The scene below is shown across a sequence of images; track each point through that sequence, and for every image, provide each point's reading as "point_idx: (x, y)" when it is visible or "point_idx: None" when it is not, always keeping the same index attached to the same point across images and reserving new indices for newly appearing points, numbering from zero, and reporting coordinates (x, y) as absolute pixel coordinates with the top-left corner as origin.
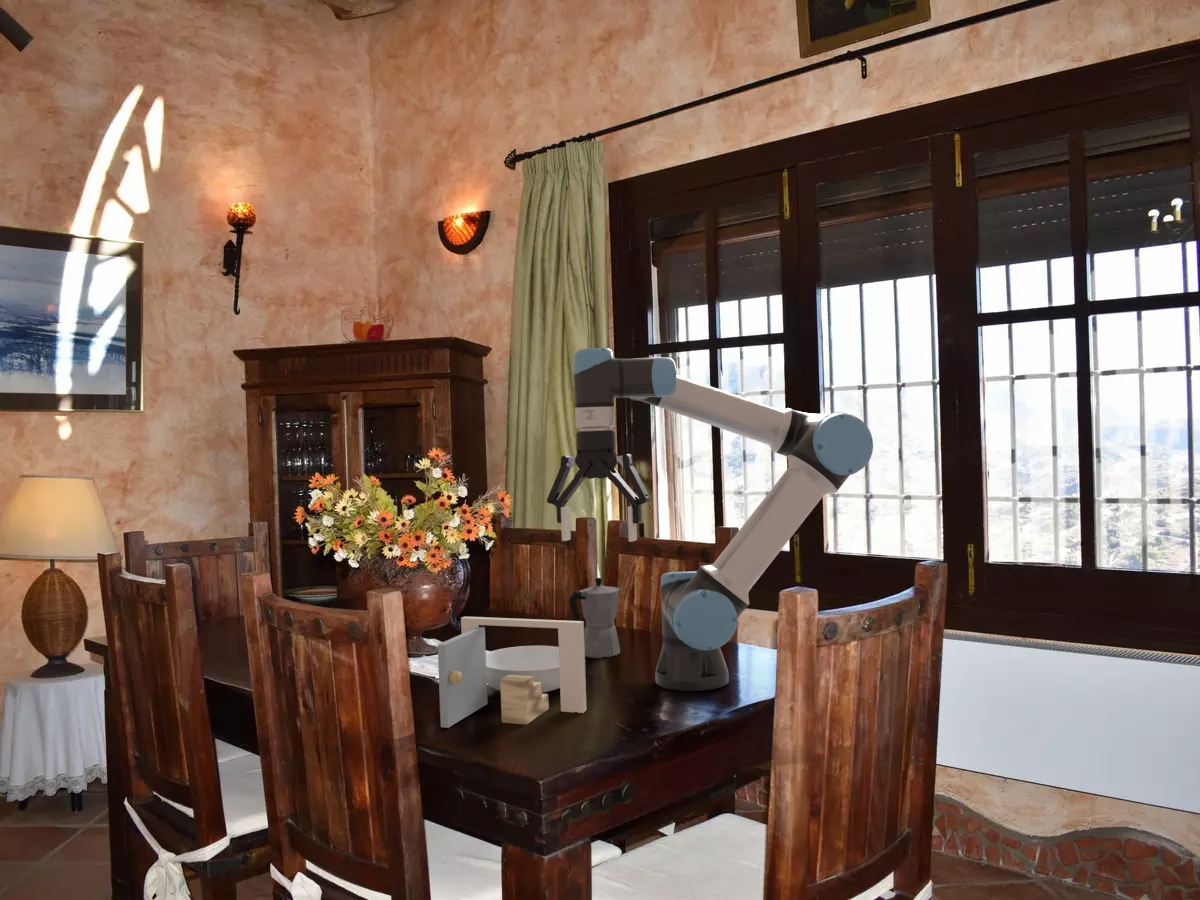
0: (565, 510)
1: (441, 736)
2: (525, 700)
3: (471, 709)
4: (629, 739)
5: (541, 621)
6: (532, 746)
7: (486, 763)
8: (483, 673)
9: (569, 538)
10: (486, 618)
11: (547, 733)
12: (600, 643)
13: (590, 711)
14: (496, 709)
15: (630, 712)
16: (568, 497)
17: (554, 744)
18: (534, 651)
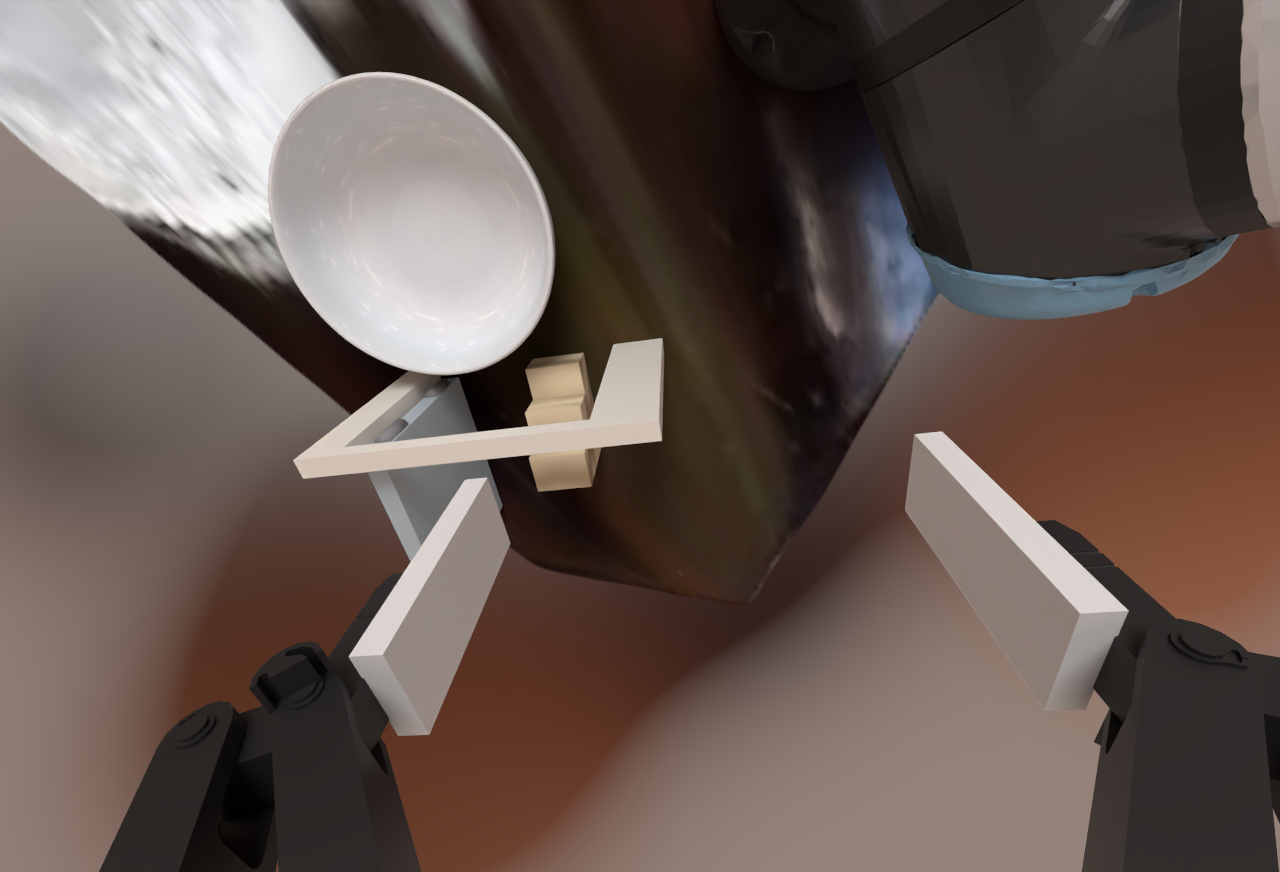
0: (434, 693)
1: (518, 529)
2: (596, 466)
3: None
4: (806, 451)
5: (541, 453)
6: (672, 522)
7: (651, 586)
8: (436, 416)
9: (490, 498)
10: (371, 465)
11: (661, 469)
12: None
13: (670, 337)
14: (493, 390)
15: (753, 313)
16: (385, 792)
17: (699, 506)
18: (332, 105)
